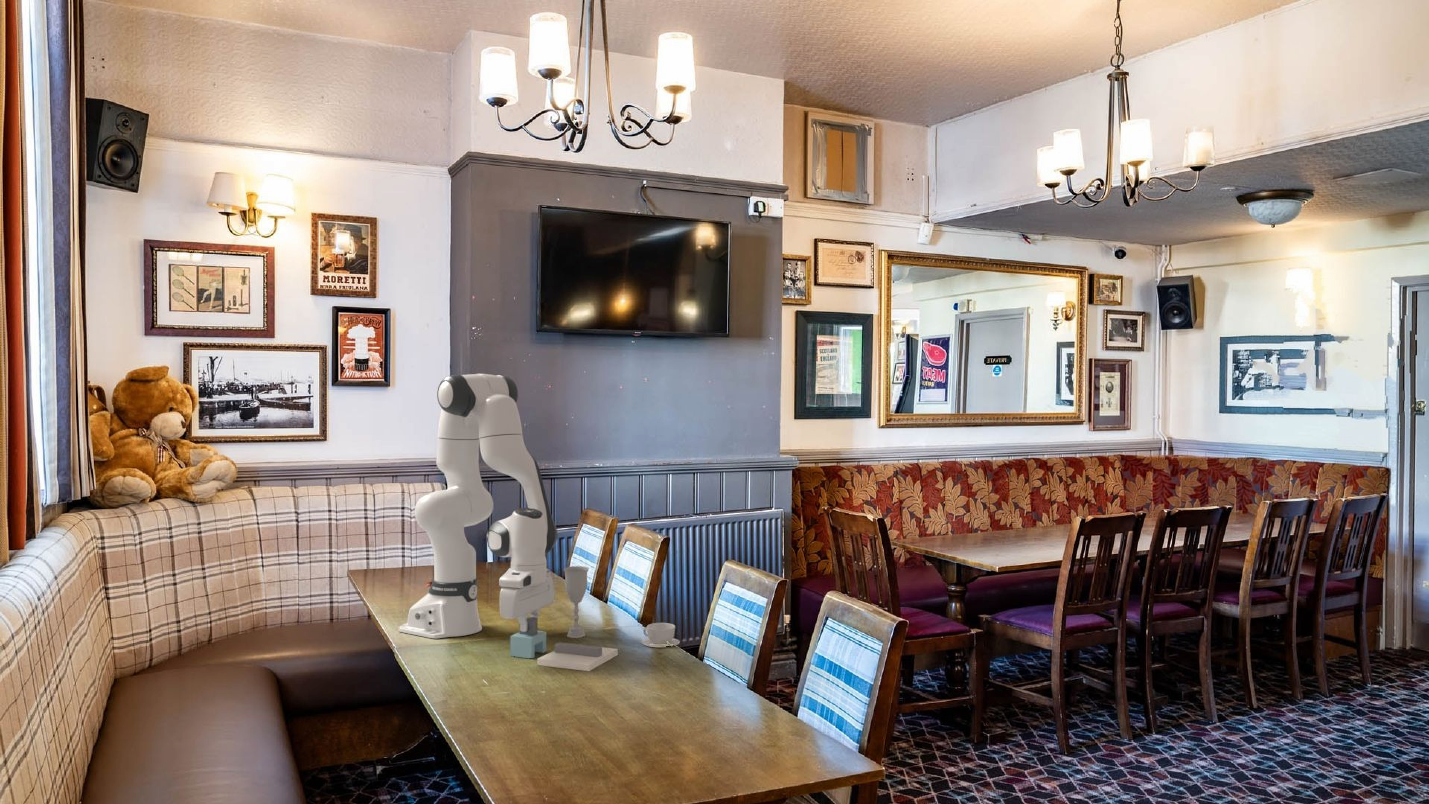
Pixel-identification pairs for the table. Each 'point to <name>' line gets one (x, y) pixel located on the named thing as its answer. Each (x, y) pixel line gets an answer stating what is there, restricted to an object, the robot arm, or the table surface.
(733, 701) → the table surface
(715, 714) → the table surface
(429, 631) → the robot arm
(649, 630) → the teacup
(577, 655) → the cleat board
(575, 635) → the chalice
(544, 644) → the block
